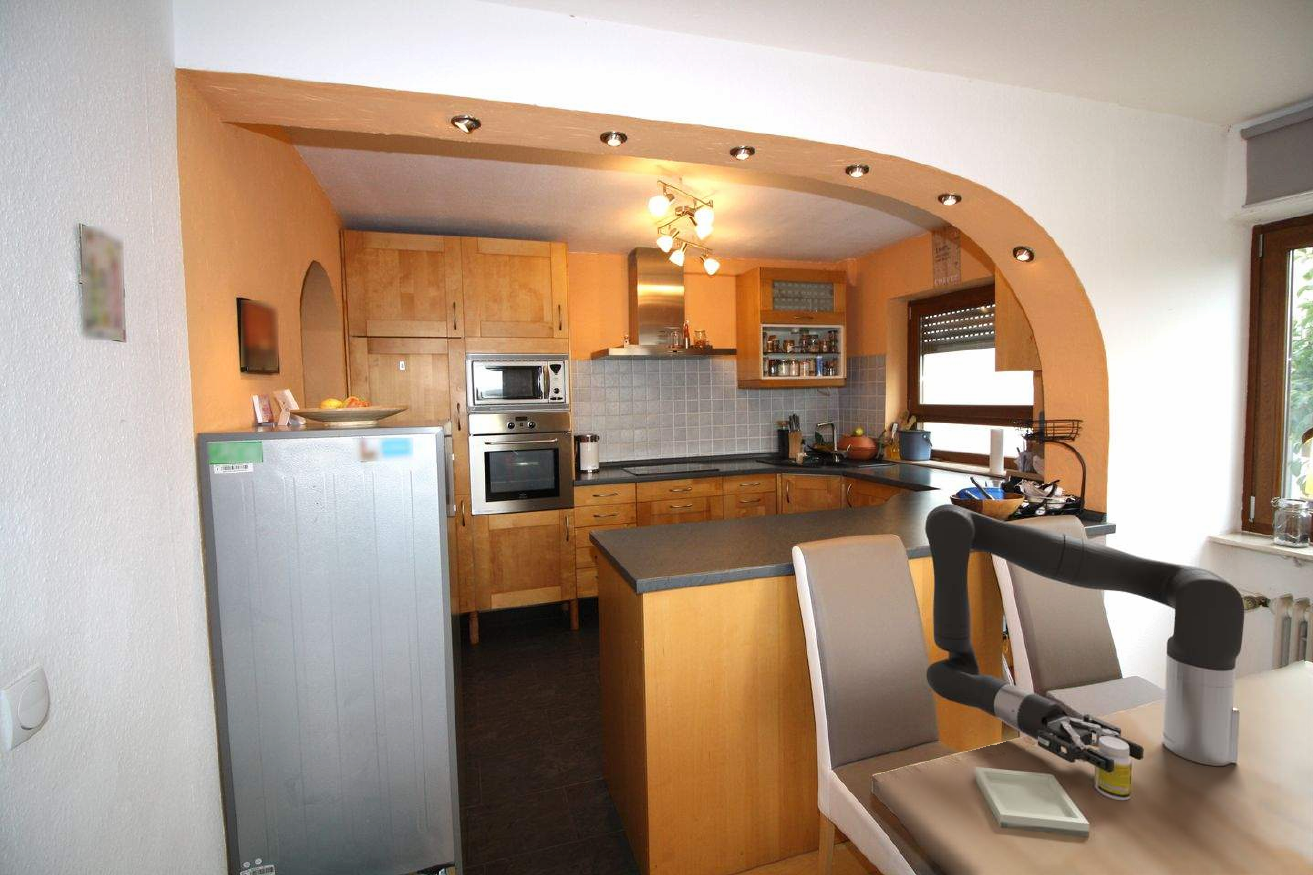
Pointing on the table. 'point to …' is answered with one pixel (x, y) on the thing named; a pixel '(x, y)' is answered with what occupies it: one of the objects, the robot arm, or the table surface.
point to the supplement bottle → (1120, 778)
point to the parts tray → (1030, 802)
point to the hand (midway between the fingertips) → (1127, 760)
